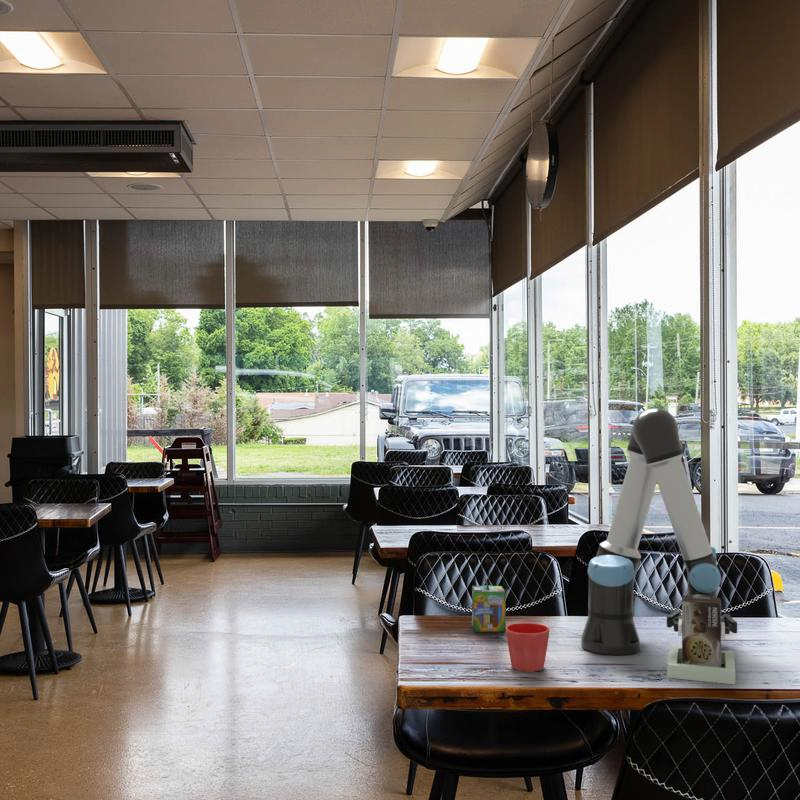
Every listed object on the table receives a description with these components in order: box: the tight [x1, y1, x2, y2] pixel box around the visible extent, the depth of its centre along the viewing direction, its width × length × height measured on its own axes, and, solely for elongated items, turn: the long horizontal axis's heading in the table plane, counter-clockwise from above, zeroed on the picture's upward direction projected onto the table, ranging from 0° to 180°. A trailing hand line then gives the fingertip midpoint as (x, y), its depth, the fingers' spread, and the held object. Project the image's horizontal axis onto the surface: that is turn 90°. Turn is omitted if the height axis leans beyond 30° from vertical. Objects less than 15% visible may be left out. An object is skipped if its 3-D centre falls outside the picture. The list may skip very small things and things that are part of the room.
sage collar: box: [666, 645, 736, 685], centre depth 217 cm, size 15×18×3 cm
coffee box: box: [681, 595, 722, 668], centre depth 218 cm, size 9×6×16 cm
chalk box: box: [471, 575, 507, 633], centre depth 257 cm, size 9×9×15 cm
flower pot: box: [505, 622, 551, 673], centre depth 219 cm, size 11×11×10 cm
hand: (701, 632), depth 213 cm, fingers open, 9 cm apart
